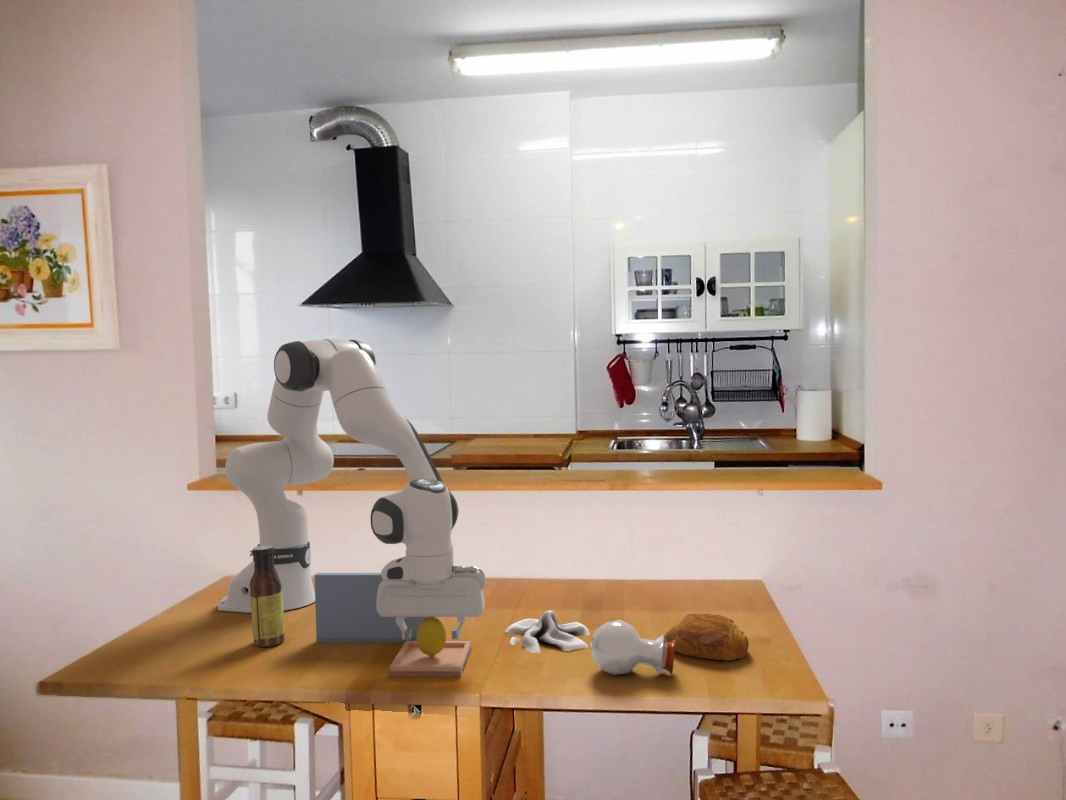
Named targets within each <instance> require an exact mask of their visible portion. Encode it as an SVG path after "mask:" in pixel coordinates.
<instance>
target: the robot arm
mask: <svg viewBox="0 0 1066 800" xmlns="http://www.w3.org/2000/svg"><path fill="white" fill-rule="evenodd" d="M376 363H377V361H376V356H375V353H374V351H373V349H372V348H371V346H370V345H369V344H368V343H366V342H364V341H361V340H356V339H349V340H344V339H337V338H335V339H333V338H332V339H331V338H324V339H317V340H307V341H300V340H299V341H298V340H297V341H296V340H295V341H291V342H290V341H289V342H288V343H284V344H282V345H281V346H280V347H279V348H278V349H277V351H276V353H275V355H274V360H273V371H274V376H275V380H274V383H273V387H272V393H271V397H270V401H269V405H268V411H267V416H266V417H267V421H268V425H269V426H270V427H271V429H272V430H273V431H274V432H276V433H277V434H279V435H281V436H282V437H283V439H281V440H279V441H278V440H277V441H268V442H267V441H265V442H255V443H250V444H247V445H243V446H240V447H236V448H234V449H232V451H230V453H229V454H228V455H227V458H226V461H225V466H224V469H225V476H226V477H227V480H228V482H229V483H230V484H231V485H232V487H234V488H235V489H236V490H238V491H240V492H241V493H243V494H244V495H245V496H246V497H247V498H248V500H249V501H250V502H251V504H252V506H253V507H254V510H255V513H256V517H257V523H258V534H259V535H258V536H259V543H258V544H257V545H256V547H258V546H265V545H270V546H273V549H274V553H273V562H274V567H275V569H276V572H277V574H278V577H279V580H280V582H281V585H282V596H283V608H284V612H285V611H289V610H294V609H295V610H296V609H298V608H302V607H305V606H309V605H311V604H312V603H314V602H315V586H314V584H313V581H312V580H313V579H312V573H311V567H310V565H311V559H312V555H311V554H312V551H311V545H310V544H311V543H310V541H309V536H308V535H309V533H308V532H309V530H308V514H307V511H306V509H305V508H304V507H303V505H301V504H299V503H298V502H295V501H293V500H291V499H288V498H287V497H286V495H285V488H286V487H291V486H293V487H294V486H299V485H308V484H312V483H316V482H318V481H320V480H323V479H326V478H327V477H329V475H330V474H331V472H332V470H333V468H334V460H335V459H334V453H333V451H332V449H331V447H330V446H329V444H327V442H325V441H324V440H323V439H322V438H321V437H320V436H319V433H318V428H317V427H318V419H319V415H320V410H321V405H322V401H323V396H324V392H329V393H330V397H331V401H332V404H333V408H334V412H335V414H336V417H337V420H338V422H339V425H340V427H341V429H342V430H343V432H344V433H346V435H348V436H349V438H352V439H353V440H355V441H357V442H360V443H363V444H367V445H370V446H371V445H372V446H374V447H378V448H381V449H384V450H386V451H389V452H391V454H394V455H395V456H396V457H397V458H398V459H399V460H400V462H401V464H402V465H403V467H404V469H405V472H406V473H407V475H408V477H409V479H410V481H409V482H408V483H406V486H405V487H404V488H403V489H401V490H399V491H397V492H395V493H394V492H393V493H391V494H387V495H385V496H382V497H379V498H378V499H377V500H376V501H375V503H374V504H373V506H372V509H371V512H370V527H371V528H370V529H371V530H372V533H373V535H374V537H375V538H377V540H379V541H380V542H382V543H383V544H386V545H398V544H404V545H405V547H406V548H405V555H404V556H402V557H398V558H396V559H393V560H391V561H389V562H388V563H387V564H385V565H384V566H383V567H382V570H381V572H380V573H381V577H382V579H383V581H382V582H381V583H380V584H379V587H378V591H377V602H376V610H377V613H378V614H379V615H380V616H381V617H396V623H397V625H398V626H399V628H400V630H401V631H402V639H404V640H405V639H411V637H412V633H411V631H412V628H407V626H406V624H405V622H404V619H405V618H406V617H435V618H456V620H457V621H456V622H457V623H459V624H458V626H457V627H452V630H451V641H461V638H462V637H461V636H462V631H461V630H462V628H463V626H464V624H465V622H466V620H467V618H478V617H479V618H480V617H481V615H482V614H483V613H484V611H485V607H486V606H485V594H484V588H485V587H486V586H485V585H486V575H485V573H484V571H483V570H481V568H478V567H477V566H475V565H474V566H473V565H471V566H470V565H469V566H462V565H461V566H459V565H458V566H457V565H455V566H454V547H453V543H452V539H451V537H452V535H451V534H452V531H453V529H454V527H455V526H456V524H457V520H458V517H459V506H458V502H457V500H456V498H455V496H454V494H453V493H452V492H451V491H450V489H449V488H448V487H447V485H446V484H445V482H444V481H443V479H442V478H441V475H440V474H439V471H438V469H437V467H436V465H435V464H434V462H433V460H432V458H431V456H430V454H429V452H428V450H427V448H426V446H425V444H424V442H423V441H422V438H421V437H420V435H419V433H418V431H417V430H416V428H415V426H414V425H413V424H412V422H411V421H410V420H408V419H406V417H404V416H403V415H402V414H401V413H400V411H398V409H397V408H396V406H395V405H394V403H393V402H392V400H391V399H390V396H389V394H388V390H387V388H386V386H385V384H384V381H383V378H382V376H381V374H380V371H379V369H378V368H377V366H376ZM249 553H250V554H249V557H252V561H251V562H250V563H249V564H248V565H246V566H245V567H244V568H243V569H241V571H239V572H238V573H237V574H236V575H234V576H233V577H232V579H231V580H230V582H229V585H228V589H227V595H226V596H225V597H223V598H222V599H221V600H219V602H218V604H217V610H218V611H223V612H234V613H236V612H237V613H249V614H250V613H251V600H250V595H251V594H250V593H251V592H250V581H251V578H252V577H253V574H254V571H255V568H254V567H255V563H254V556H253V549H252V550H250V551H249Z"/></svg>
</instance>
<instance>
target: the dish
mask: <svg viewBox="0 0 1066 800" xmlns="http://www.w3.org/2000/svg"><path fill="white" fill-rule="evenodd" d="M471 652H472V640H446V643H445V646H444V648H443V649H442V651H441V652H440V653H438V654H436V655H435V656H434V657H433V658H430V657H429V656H428V655H426V654H424V653H423V652H421V650H420V649H419V647H418V644H417V641H406V642H405V643H403V645H402V647H401V648H400V649H399V651H398V653H397V654H396V656H395V658H394V659H393V661H392V663H391V664H390V665H389V677H423V678H425V677H428V678H429V677H430V678H432V677H435V678H438V677H439V678H442V677H444V678H445V677H447V678H451V677H453V678H454V677H455V678H462V676H463V673H464V670H465V668H466V665H467V663H468V660H469V658H470V656H471V655H470V654H471Z"/></svg>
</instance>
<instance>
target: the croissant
mask: <svg viewBox="0 0 1066 800" xmlns="http://www.w3.org/2000/svg"><path fill="white" fill-rule="evenodd" d="M664 636H665V638H666V640H667V642H671V641H673V640H674V639H675V653H676V652H678V653H677V654H680V653H681V655H684V654H685V655H684V656H688V655H690V656H689V657H693V656H694V658H699V657H700V659H704V658H707V659H708V660H713V659H714V660H715V661H721V660H722V661H727V662H729V661H734V660H738V659H743V658H745V656H747V653H748V652H749V651H748V650H749V646H750V645H749V644H750V643H749V639H748V636H747V635H746V634H745V632H744V631H743V630H742V629H740V628H739V627H738V625H737V624H735V623H734V620H733V619H730V618H728V617H726V616H724V615H720V614H712V613H688V614H687V615H686V616H685V617H684V618H682V619H681V621H678V622H676V623H675V624H674V625H672V627H670V628H669V629H668V630H667V631H666V632H665V635H664Z"/></svg>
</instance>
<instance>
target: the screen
mask: <svg viewBox="0 0 1066 800" xmlns="http://www.w3.org/2000/svg"><path fill="white" fill-rule="evenodd" d="M382 581H383V579H382V577H381V572H316V573H315V574H314V591H315V601H314V602H315V627H316V628H315V629H316V630H315V631H316V633H315V634H316V643H317V644H318V643H319V644H320V643H321V644H322V643H325V644H326V643H329V644H330V643H333V644H334V643H335V644H337V643H338V644H339V643H342V644H343V643H344V644H347V643H348V644H349V643H350V644H353V643H355V644H357V643H358V644H404V643H405V642H406V641H417V630H418V627H419V625H420V623H421V622H422V621H423V620H424V619H426V618H428V617H406V618H405V619H404V622H405V624H406V626H407V628H412V631H411V633H412V637H411V639H405V640H404V639H402V631H401V630H400V628H399V626H398V625H397V623H396V617H381V616H380V615H379V614H378V613H377V610H376V602H377V591H378V587H379V584H380V583H381V582H382Z"/></svg>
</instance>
